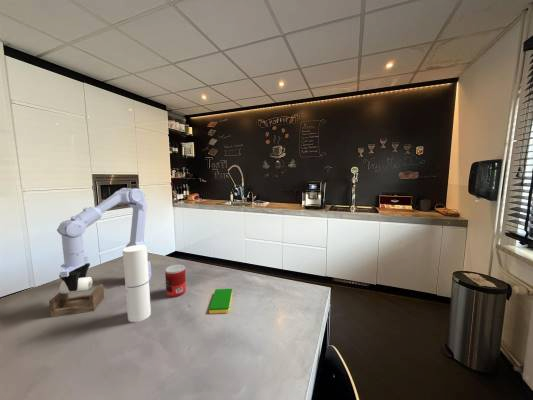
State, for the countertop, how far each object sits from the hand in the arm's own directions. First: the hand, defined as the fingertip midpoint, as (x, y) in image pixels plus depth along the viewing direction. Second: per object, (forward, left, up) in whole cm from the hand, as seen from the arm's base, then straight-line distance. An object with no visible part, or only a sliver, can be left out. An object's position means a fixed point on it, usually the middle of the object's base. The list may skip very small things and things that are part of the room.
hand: (77, 286), depth 83 cm
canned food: (-35, -1, -8) cm, 35 cm away
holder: (0, 0, -8) cm, 8 cm away
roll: (0, 0, +1) cm, 1 cm away
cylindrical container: (-24, +12, -8) cm, 28 cm away
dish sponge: (-53, +12, -9) cm, 55 cm away
